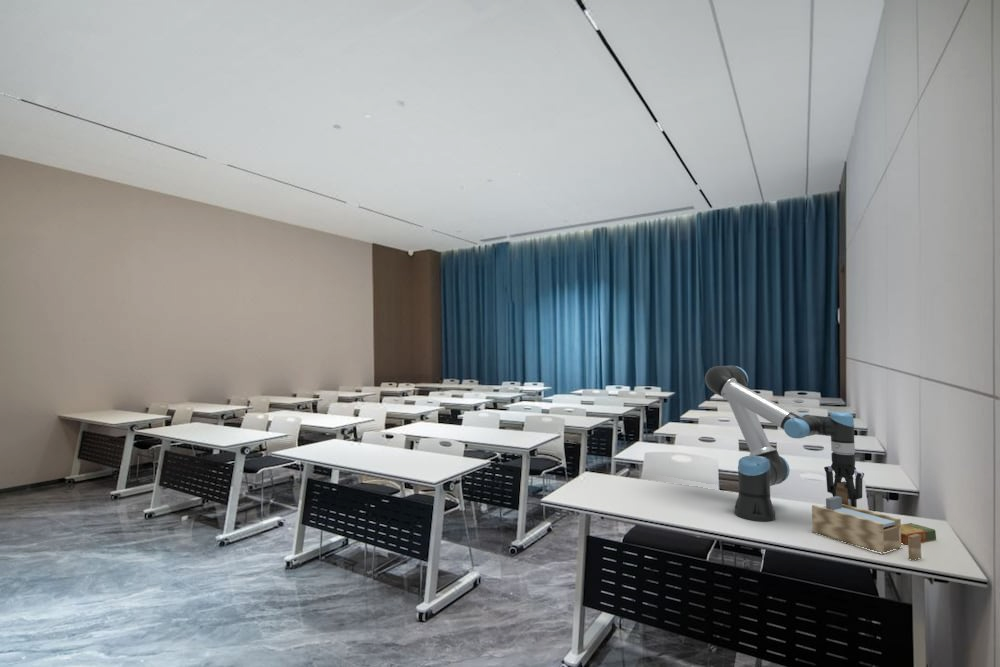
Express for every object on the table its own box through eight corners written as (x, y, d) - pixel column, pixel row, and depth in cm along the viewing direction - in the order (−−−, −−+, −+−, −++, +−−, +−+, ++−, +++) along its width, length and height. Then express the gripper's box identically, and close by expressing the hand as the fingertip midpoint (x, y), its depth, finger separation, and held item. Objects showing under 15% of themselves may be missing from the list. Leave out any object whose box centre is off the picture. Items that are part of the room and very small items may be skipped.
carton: (881, 538, 182) (881, 526, 182) (911, 533, 188) (910, 521, 188) (907, 546, 174) (906, 534, 175) (936, 541, 180) (936, 529, 180)
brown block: (843, 516, 195) (842, 480, 196) (854, 519, 191) (853, 483, 192) (836, 518, 193) (834, 482, 193) (847, 521, 189) (845, 484, 190)
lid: (817, 510, 187) (817, 497, 187) (832, 507, 191) (831, 494, 191) (881, 528, 168) (880, 513, 169) (895, 524, 172) (895, 509, 173)
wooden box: (812, 532, 187) (811, 505, 188) (831, 527, 193) (831, 501, 193) (907, 563, 160) (906, 531, 161) (926, 556, 166) (925, 525, 166)
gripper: (814, 450, 199) (816, 509, 198) (861, 457, 184) (863, 522, 183) (826, 448, 203) (827, 507, 202) (873, 456, 187) (875, 519, 186)
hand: (845, 514), depth 192 cm, fingers closed on brown block, 4 cm apart
